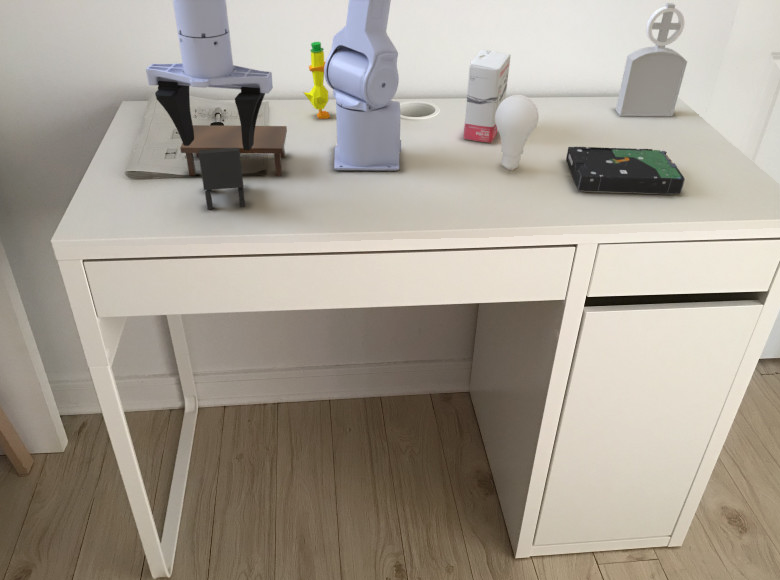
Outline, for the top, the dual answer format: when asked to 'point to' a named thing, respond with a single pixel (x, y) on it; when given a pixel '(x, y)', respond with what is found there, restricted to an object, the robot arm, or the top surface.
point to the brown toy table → (236, 142)
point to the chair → (221, 172)
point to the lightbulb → (515, 127)
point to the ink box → (485, 94)
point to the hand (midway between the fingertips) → (218, 144)
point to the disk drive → (623, 170)
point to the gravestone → (654, 71)
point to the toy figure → (318, 81)
